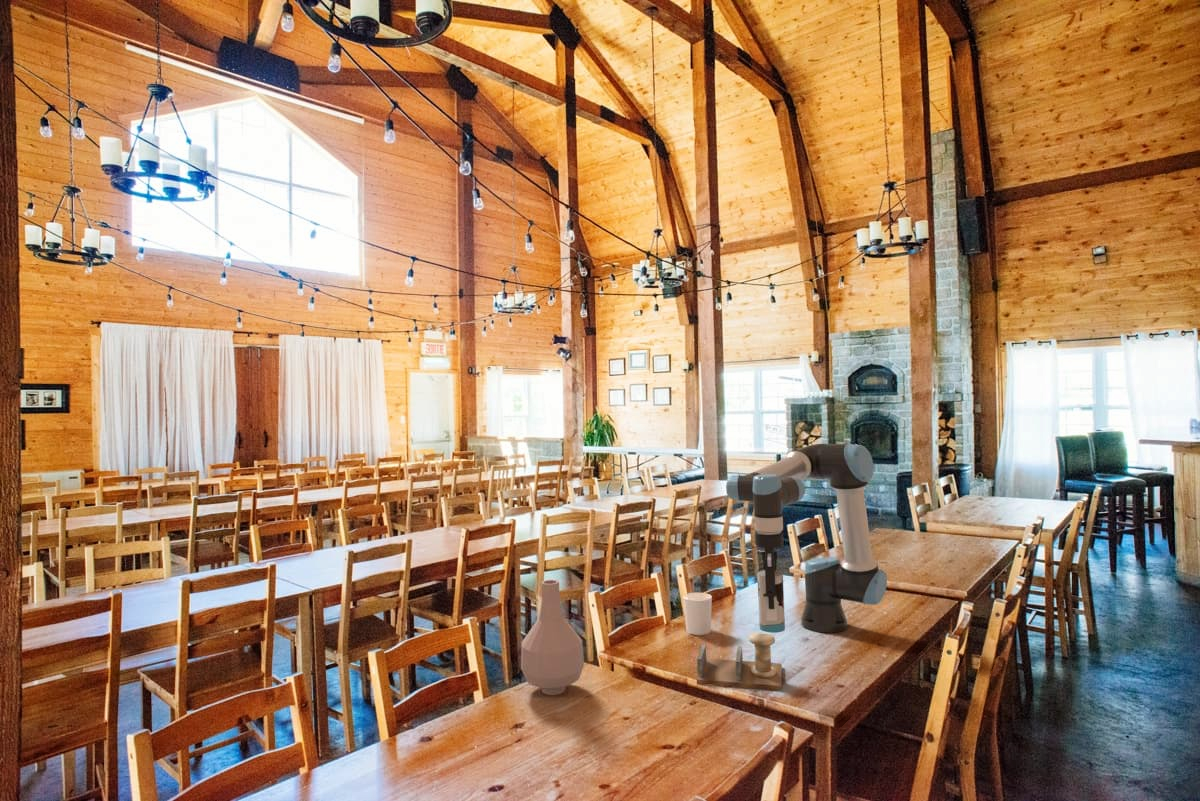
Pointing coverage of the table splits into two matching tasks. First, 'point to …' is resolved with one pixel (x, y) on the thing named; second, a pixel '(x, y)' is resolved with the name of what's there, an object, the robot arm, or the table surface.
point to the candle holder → (698, 613)
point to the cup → (780, 623)
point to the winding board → (742, 667)
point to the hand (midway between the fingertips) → (772, 615)
